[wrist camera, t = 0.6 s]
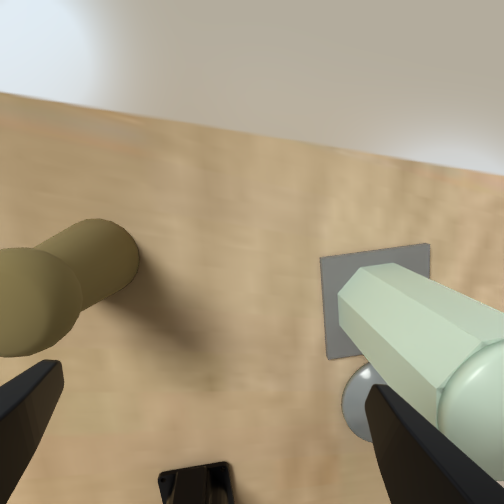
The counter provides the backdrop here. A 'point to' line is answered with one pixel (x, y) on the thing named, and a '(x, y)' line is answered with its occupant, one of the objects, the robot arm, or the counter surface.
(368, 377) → the plate
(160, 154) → the counter surface
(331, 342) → the mat
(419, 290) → the mint green canister
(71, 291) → the cork
